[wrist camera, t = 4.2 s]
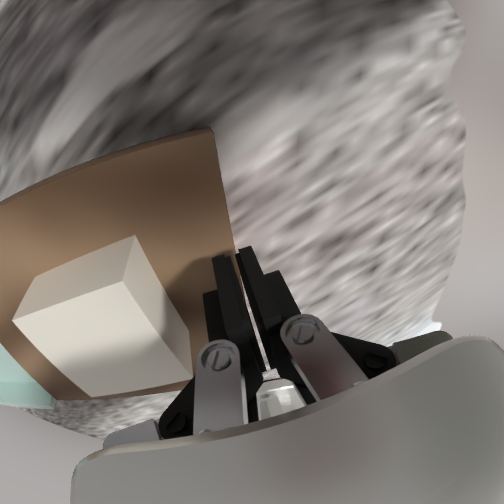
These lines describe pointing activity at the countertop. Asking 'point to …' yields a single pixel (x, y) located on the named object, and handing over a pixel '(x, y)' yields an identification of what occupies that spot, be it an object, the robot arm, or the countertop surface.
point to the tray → (21, 386)
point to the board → (120, 236)
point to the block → (107, 322)
